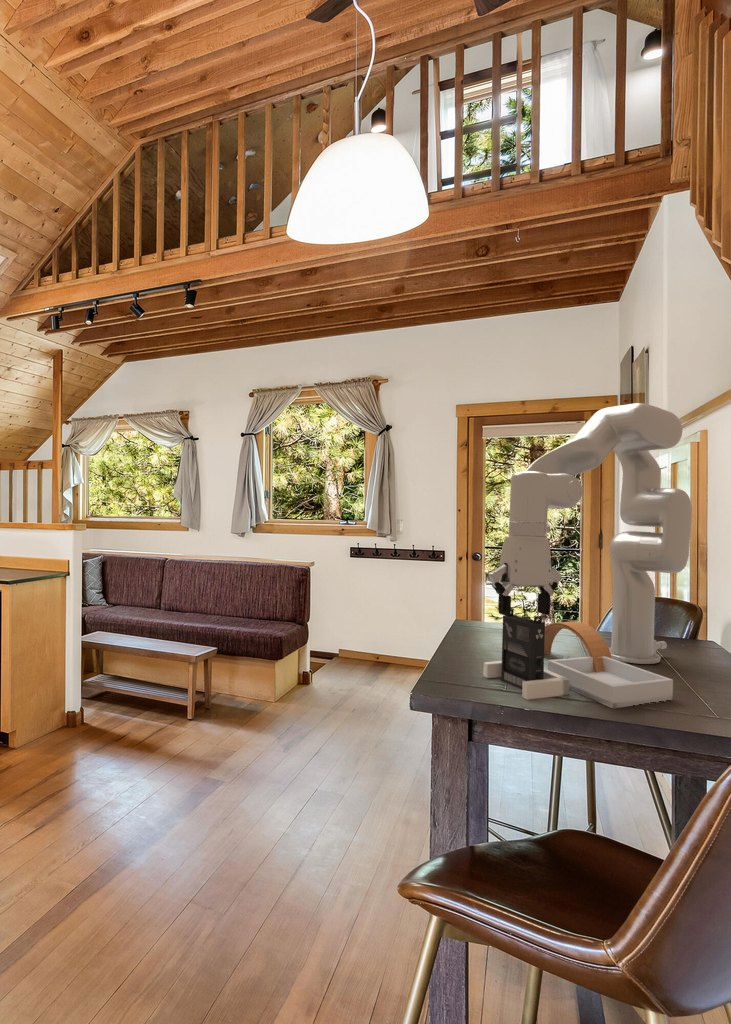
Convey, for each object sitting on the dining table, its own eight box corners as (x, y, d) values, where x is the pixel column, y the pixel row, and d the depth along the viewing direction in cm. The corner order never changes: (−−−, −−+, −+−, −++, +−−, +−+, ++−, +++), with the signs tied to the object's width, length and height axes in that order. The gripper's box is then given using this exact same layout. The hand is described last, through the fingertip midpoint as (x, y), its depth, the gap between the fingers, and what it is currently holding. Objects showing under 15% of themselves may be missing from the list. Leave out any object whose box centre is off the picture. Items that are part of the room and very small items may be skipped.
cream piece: (521, 672, 120) (522, 658, 120) (569, 694, 106) (569, 679, 106) (483, 676, 116) (483, 662, 116) (526, 699, 102) (527, 684, 102)
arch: (595, 676, 118) (595, 630, 118) (531, 656, 136) (531, 617, 136) (614, 673, 120) (613, 628, 120) (549, 654, 138) (548, 615, 139)
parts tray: (601, 672, 121) (602, 655, 121) (672, 700, 104) (673, 679, 104) (547, 678, 116) (547, 660, 116) (612, 708, 99) (613, 686, 99)
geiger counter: (551, 691, 107) (553, 616, 107) (534, 694, 105) (536, 618, 105) (514, 676, 117) (516, 607, 117) (498, 679, 115) (500, 609, 115)
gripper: (549, 531, 117) (546, 610, 117) (481, 529, 111) (478, 611, 111) (574, 533, 110) (570, 616, 110) (502, 530, 104) (499, 618, 104)
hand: (524, 614), depth 111 cm, fingers open, 9 cm apart
